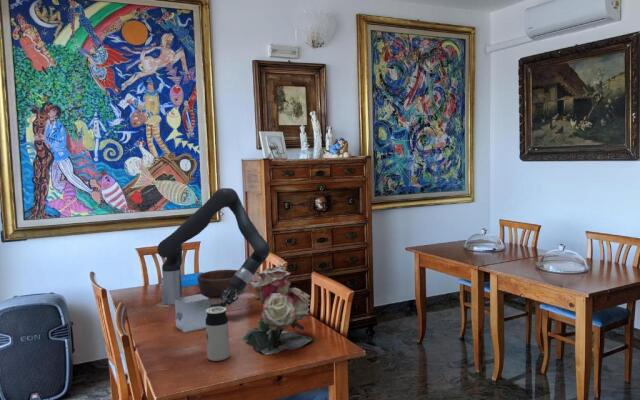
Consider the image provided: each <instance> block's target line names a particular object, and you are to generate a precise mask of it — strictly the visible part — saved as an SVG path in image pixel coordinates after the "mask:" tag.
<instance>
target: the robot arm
mask: <svg viewBox="0 0 640 400" xmlns="http://www.w3.org/2000/svg"><path fill="white" fill-rule="evenodd" d="M224 208H228V209H229V210H230V211H231V212H232V214H233V215H234V218H235V219H236V222H237V226H238V230H239V231H240V233H241V234H242V236H243V237H244V239H245V241H246V242H247V243H248V244H249V245H250V246H251V248H252V250H253V252H252V253H251V255H250V256H249V257H248V258H246V260H245V261H244V262H243V264H242V265H240V267H239V268H238V269H237V270H238V271H237V272H236V273H235V275H234V276H233V278H232V279H231V280H230V282H229V284H230V286H229V287H228V288H227V290H223V291H222V294H221V297H219V298H220V302H219V303H220V307H225V308H226V306H231V304H233V303H234V302H236V301H237V300H238V299H239V297H238V294H239V293H240V292H242V293H243V291H245V289H246V287H247V286H248V285H249V283H251V282H250V281H252V278H253V277H254V275H255V274H256V272H257V271H258V269H259V268H260V267H261V265H262V264H263V263H264V262H265V261H266V260H267V258H268V257H269V255H270V250H271V249H270V246H269V244H268V242H267V241H266V240H265V239H264V237H263V236H262V235H261V234H260V232H259V231H258V229H257V227H256V226H255V225H254V223H253V222H252V220H251V219H250V217H249V215H248V213H247V211H246V209H245V208H244V206H243V203H242V201H241V199H240V197H239V195H238V192H237V191H236V190H235V189H233V188H231V187H230V188H229V187H223V188H219V189H217V190H216V191H215V192H214V193H213V194H212V195H211V196H210V197H209V199H208V200H207V201H206V202H205V203H204V204H203V205H202V206H200V207H199V208H197V210H195V212H193V213H192V214H191V215H190V216H189V217H188V218H187V219H186V220H185V221H184V222H183V223H181V225H179V226H178V227H177V229H175V230H174V231H173V232H172V233H171V234H169V235H168V236H167V237H165V238H164V239H163V240H161V241H160V242H159V243H158V245H157V250H156V251H157V254H158V256H159V257H162V258H164V259H165V261H164V262H163V264H162V265H161V270H162V278H163V284H162V285H161V298H162V299H161V301H162V305H166V306H175V299H176V298H182V297H183V287H182V279H181V275H182V267H181V266H182V263H183V247H182V246H183V245H182V244H184V243H186V242H188V241H189V240H191V239H193V238H195V237H196V236H198V235H199V234H201V232H202V231H204V230H205V229H206V228H207V227H208V226H209V225H210V222H211V220H212V218H213V216H215V214H217V213H218V212H220V211H221V210H222V209H224ZM239 291H240V292H239Z"/></svg>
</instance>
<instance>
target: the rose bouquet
mask: <svg viewBox="0 0 640 400" xmlns="http://www.w3.org/2000/svg"><path fill="white" fill-rule="evenodd" d="M255 274H257V275H258V277H260V278H259V279H258V280H253V281H252V280H250V282H249V283H250V285H251V287H252V288H253V290H254V291H255V293H256V295H257V296H255V297H250V300H256V301H259V302H261V303H260V304H257V305H263V307H262V310H261V312H260V313H261V318H260V319H258V318H255V319H256V320H257V319H258V320H257V324H258V325H257V326H254V327H253V328H251V329H249V330H248V331H247V333H246V334H245V335H244V336H243V337H242V340H243V341H244V342H245V343H246V345H249V346H250V347H253V349H254V350H255V351H257V352H259V353H262V354H263V355H266V356H268V355H272V354H276V355H278V353H280V352H282V351H284V350H296V349H300V348H302V347H303V346H304V345H306V344H308V343H309V342H311V341H312V342H313V341H315V340H314V339H313V337H311V336H305V335H302V334H298V333H297V332H296V329H295V328H297V329H299V330H300V332H302V333H305V326H304V325H303V324H301V323H300V322H299V320H305V319H306V317H310V313H309V311H311V309H310V308H309V306H310V305H311V304H310V302H311V300H310V299H309V298H311V295H309V294H308V293H306V292H305V291H302V290H301V289H300V288H297V287H290V286H291V281H288V279H289V277H290V275H291V272H290V271H287V270H286V267H284V265H282V264H280V265H279V266H276V267H268V268H266V269H264V270H263V271H259V272H257V271H256V272H255ZM253 307H254V304H250V305H248V308H253ZM290 327H291V328H292V329H293V331H290V332H288V331H285V330H288V329H290ZM279 341H280V342H281V343H280V342H279Z"/></svg>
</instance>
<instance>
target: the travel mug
mask: <svg viewBox="0 0 640 400" xmlns="http://www.w3.org/2000/svg"><path fill="white" fill-rule="evenodd" d="M227 310H228V309H227V307H226V306H225V307H212V308H208V309H207V310H206V313H207V317H206V319H205V320H206V328H205V331H206V332H205V334H206V335H205V337H206V356H207V359H208V360H210V361H212V362H213V361H214V362H218V361H219V362H221V361H224V360H226V359H228V358H229V357H230V339H229V319H228V315H227V314H226V312H227Z"/></svg>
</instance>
